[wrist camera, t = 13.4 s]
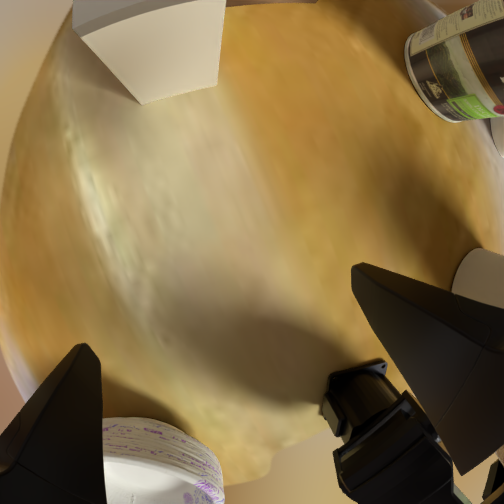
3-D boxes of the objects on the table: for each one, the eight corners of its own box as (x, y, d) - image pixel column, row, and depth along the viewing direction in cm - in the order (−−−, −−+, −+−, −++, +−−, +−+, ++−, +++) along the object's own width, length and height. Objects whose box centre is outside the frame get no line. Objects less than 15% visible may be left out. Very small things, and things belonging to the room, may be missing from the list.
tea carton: (216, 85, 18) (228, -17, 6) (142, 105, 17) (72, 28, 6) (201, 25, 16) (203, -86, 5) (131, 43, 16) (78, -52, 4)
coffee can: (473, 135, 22) (581, 135, 8) (405, 103, 20) (537, 73, 6) (466, 56, 19) (556, 33, 6) (398, 16, 18) (493, -40, 4)
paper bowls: (65, 390, 22) (37, 443, 14) (210, 395, 24) (214, 462, 16) (111, 472, 25) (102, 517, 18) (225, 475, 27) (232, 526, 20)
